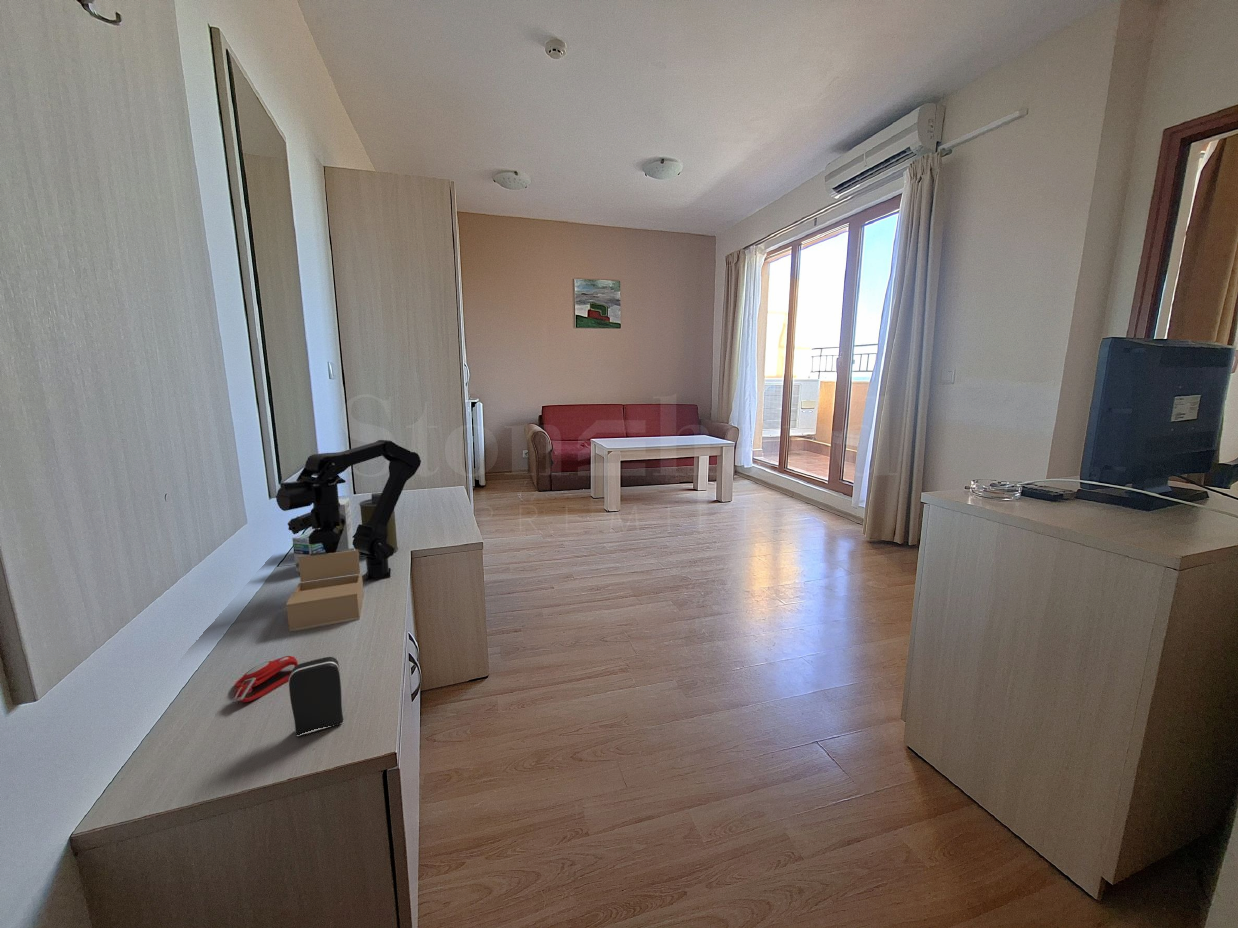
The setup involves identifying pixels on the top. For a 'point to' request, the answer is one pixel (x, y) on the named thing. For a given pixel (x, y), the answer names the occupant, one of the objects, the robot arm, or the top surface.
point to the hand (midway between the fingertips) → (331, 559)
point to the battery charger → (316, 694)
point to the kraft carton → (325, 602)
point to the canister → (366, 513)
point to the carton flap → (329, 565)
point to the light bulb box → (305, 548)
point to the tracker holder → (261, 678)
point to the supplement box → (346, 525)
